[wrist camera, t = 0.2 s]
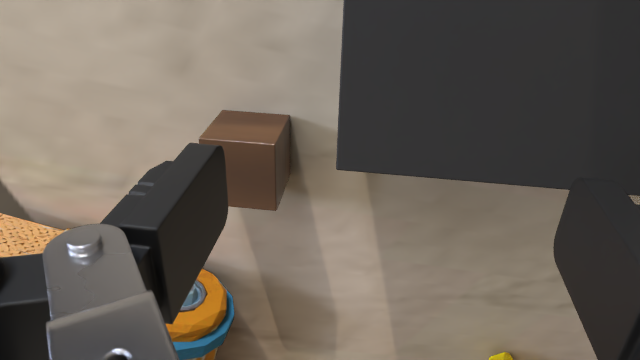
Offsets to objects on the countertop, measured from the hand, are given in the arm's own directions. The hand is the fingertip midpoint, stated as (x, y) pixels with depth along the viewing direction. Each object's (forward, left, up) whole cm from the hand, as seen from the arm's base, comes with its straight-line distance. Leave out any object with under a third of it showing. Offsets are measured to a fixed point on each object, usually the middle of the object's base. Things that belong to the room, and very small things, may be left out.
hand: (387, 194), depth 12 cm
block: (+8, -8, -19) cm, 23 cm away
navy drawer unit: (-2, +6, -19) cm, 20 cm away
